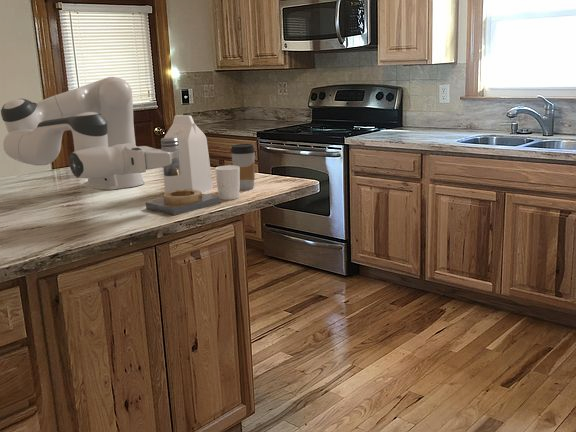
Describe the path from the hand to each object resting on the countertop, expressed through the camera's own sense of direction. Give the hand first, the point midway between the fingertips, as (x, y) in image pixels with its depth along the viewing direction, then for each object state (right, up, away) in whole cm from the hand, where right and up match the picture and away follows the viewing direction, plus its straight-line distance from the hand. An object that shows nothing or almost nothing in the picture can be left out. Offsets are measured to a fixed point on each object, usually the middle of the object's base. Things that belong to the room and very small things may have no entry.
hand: (173, 152), depth 187 cm
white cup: (+16, -13, +15) cm, 25 cm away
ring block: (+2, -16, +6) cm, 17 cm away
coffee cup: (+20, -10, +27) cm, 35 cm away
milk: (+1, -11, +26) cm, 29 cm away
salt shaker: (-1, -6, +1) cm, 7 cm away
